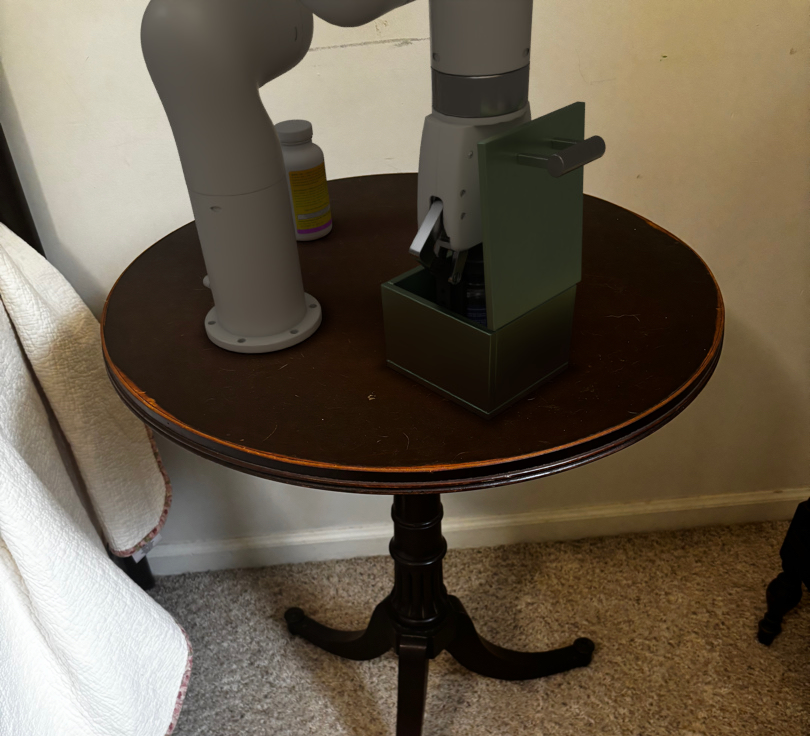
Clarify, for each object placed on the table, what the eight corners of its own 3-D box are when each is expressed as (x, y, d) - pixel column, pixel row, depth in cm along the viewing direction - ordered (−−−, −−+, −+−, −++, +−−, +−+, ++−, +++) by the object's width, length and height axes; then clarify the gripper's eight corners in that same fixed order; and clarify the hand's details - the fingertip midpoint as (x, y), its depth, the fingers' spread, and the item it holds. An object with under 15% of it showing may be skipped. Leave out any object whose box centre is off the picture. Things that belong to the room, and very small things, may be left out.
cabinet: (386, 366, 80) (380, 284, 74) (466, 321, 85) (466, 241, 79) (488, 421, 73) (490, 334, 66) (568, 368, 78) (577, 284, 72)
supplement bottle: (343, 226, 104) (331, 120, 95) (312, 247, 100) (297, 138, 91) (302, 217, 107) (287, 113, 98) (271, 236, 103) (252, 130, 94)
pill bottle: (504, 378, 75) (509, 267, 68) (441, 374, 77) (438, 264, 69) (511, 344, 80) (516, 236, 72) (451, 340, 81) (449, 234, 73)
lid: (476, 142, 57) (533, 150, 54) (577, 100, 62) (634, 106, 59) (487, 328, 66) (535, 345, 63) (574, 278, 72) (623, 291, 69)
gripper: (516, 56, 68) (508, 259, 80) (363, 109, 59) (381, 326, 72) (588, 70, 63) (568, 282, 76) (435, 130, 55) (441, 356, 68)
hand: (477, 302), depth 74 cm, fingers closed on pill bottle, 6 cm apart
